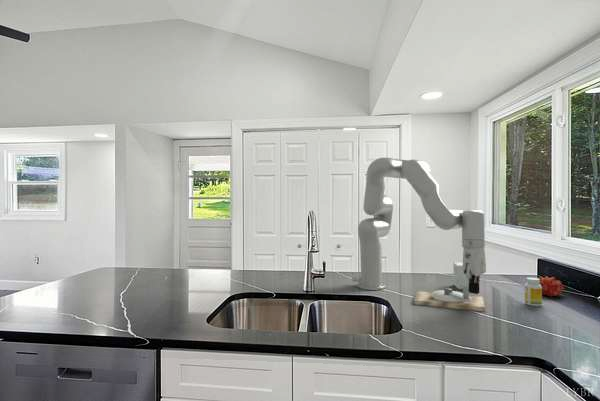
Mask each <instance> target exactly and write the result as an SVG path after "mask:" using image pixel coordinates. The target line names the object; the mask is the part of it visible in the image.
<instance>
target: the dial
mask: <svg viewBox="0 0 600 401" xmlns="http://www.w3.org/2000/svg"><path fill="white" fill-rule="evenodd" d="M431 292H432V298H433V299H435V300H438V301H442V302H450V303H458V302H464V301H465V302H470V299H469V296H470V295H469V294H470V293H469V287H466V286H464V287H463V289H462V292H460V291H457V290H456V291H454V290H453V288H450V287H444V288H443V289H441V290H434V291H431Z"/></svg>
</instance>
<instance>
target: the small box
mask: <svg viewBox="0 0 600 401" xmlns="http://www.w3.org/2000/svg"><path fill="white" fill-rule="evenodd" d="M452 265H453V266H452V267H453V285H454V286H455V287H456V288H457V290H463V287H464V286H466V287H469V282H468V279H466V275H465V274H464V273H463V262H453V264H452Z"/></svg>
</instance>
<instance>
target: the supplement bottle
mask: <svg viewBox="0 0 600 401" xmlns="http://www.w3.org/2000/svg"><path fill="white" fill-rule="evenodd" d="M538 278H539V277H526V283H525V284H524V304H525V305H528V306H532V307H541V306H542V305H543V295H542V286H541V285H540V284H539V283H540V279H538Z"/></svg>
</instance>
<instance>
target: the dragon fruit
mask: <svg viewBox="0 0 600 401" xmlns="http://www.w3.org/2000/svg"><path fill="white" fill-rule="evenodd" d="M537 278H538V279H540V283H539V284H540V285H541V286H542V297H543V296H546V295H547V296H549V297H553V296H554V297H560V296H561V293H562V292H563V291H564V290H565V286H564V284H563V283H562V282H561V280H558V279H556V278H555V277H554V276H552V277H548V275H546V276H544V277H543V276H538V277H537Z"/></svg>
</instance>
